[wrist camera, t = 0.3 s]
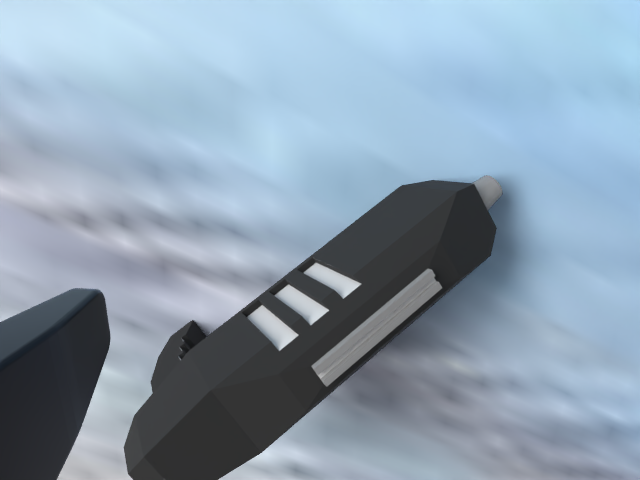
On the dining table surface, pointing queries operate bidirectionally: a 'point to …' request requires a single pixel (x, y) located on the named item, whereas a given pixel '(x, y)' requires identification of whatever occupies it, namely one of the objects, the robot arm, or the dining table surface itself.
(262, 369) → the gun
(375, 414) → the dining table surface
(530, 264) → the dining table surface
